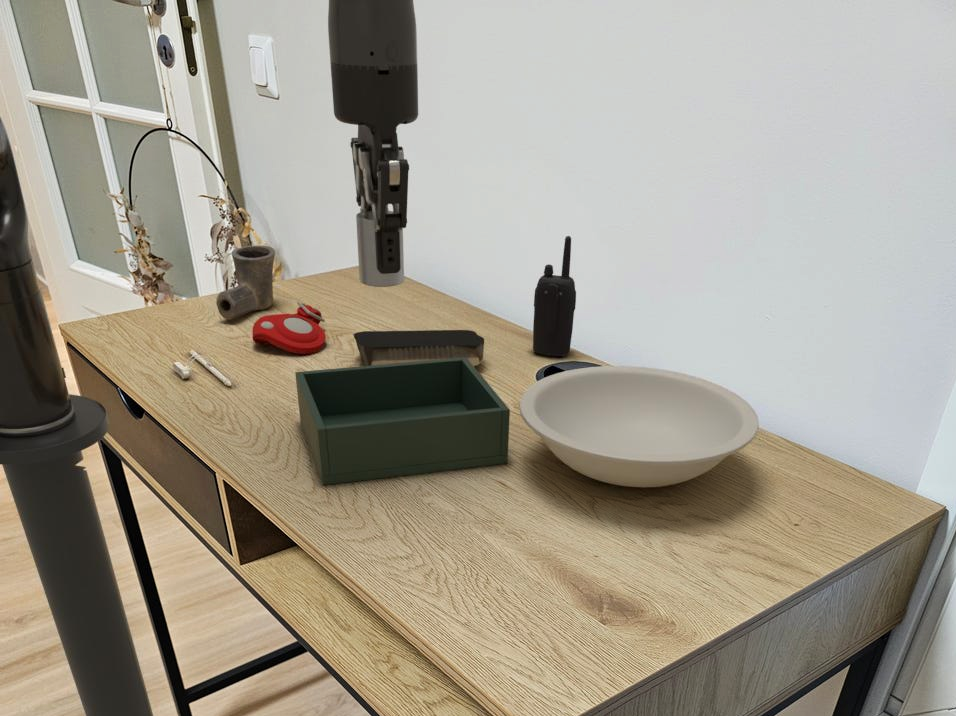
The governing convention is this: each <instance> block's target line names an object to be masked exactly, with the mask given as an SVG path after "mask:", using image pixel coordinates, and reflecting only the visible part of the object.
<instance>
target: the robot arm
mask: <svg viewBox="0 0 956 716" xmlns="http://www.w3.org/2000/svg"><path fill="white" fill-rule="evenodd" d="M327 11H328V14H327V32H328V33H327V34H328V35H327V36H328V47H329V63H330V64H329V65H330V75H331V76H330V77H331V89H332V90H331V91H332V102H333V103H332V104H333V106H332V107H333V115H334V117H335V119H336V120H337V121H339V122H340V123H343V124H348V125H355V126H357V137H351V139H350V143H349V145H350V148H351V154H352V156H351V157H352V163H353V173H354V183H355V191H356V192H355V193H356V196H355V200H356V203H357V206H358V207H360V209H359V211H360V212H364V211H371V210H372V211H373V220H374V222H373V227H374V228H375V245H376V265H377V270H378V271H379V272H380V273H381V274H389V273H398V272H399V271H400V269H401V263H400V233H399V231H401V230H402V228H403V229H405V228H407V223H408V197H409V196H408V195H409V194H408V192H409V191H408V190H409V171H410V164H409V162H408V161H409V160H408V159H405V154H404V148H403V146H402V145H401V146H399V140H398V133H397V128H398V126H400V125H408V124H412V123H413V122H415V121H416V120H417V119H418V117H419V81H418V80H419V79H418V77H419V76H418V72H419V71H418V35H417V34H418V32H417V31H418V30H417V19H416V13H415V4H414V0H328V10H327ZM13 152H14V151H13V148H12V145H11V142H10V138H9V135H8V132H7V129H6V126H5V124H4V121H3V119H2V117H1V116H0V436H1V437H8V438H24V437H33V436H39V435H44V434H48V433H51V432H54V431H57V430H59V429H62V428H64V427H66V426H67V425H69V424H70V423H71V422H72V421H73V420H74V418H75V412H74V408H73V405H72V403H71V399H70V396H69V394H70V393H69V390H68V386H67V382H66V378H67V376H66V372H65V369H64V367H62V364H61V360H60V356H59V352H58V349H57V346H56V342H55V337H54V334H53V330H52V327H51V323H50V319H49V315H48V312H47V307H46V304H45V300H44V297H43V292H42V289H41V286H40V282H39V278H38V274H37V270H36V267H35V264H34V260H33V256H32V252H31V249H30V243H29V220H28V213H27V208H26V204H25V199H24V196H23V195H24V194H23V192H22V187H21V182H20V177H19V173H18V169H17V164H16V160H15V156H14V153H13ZM389 205H391V206H392V211H393V214H386V211H389ZM360 212H359V213H360Z"/></svg>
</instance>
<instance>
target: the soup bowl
mask: <svg viewBox="0 0 956 716" xmlns="http://www.w3.org/2000/svg"><path fill="white" fill-rule="evenodd" d="M518 408H519V414H520V416H521V418H522V420H523V421H524V423H525V425H527V426H528V428H529V429H530V430H532V431H533V432H534V433H535V434H537V435H538V436H540V438H541V440H542V441H543V442H544V443H545V445H546V446H547V448H548V449H549V450H550V451H551V452H552V453H553V454H554V456H555V457H557V459H559V460H560V461H561V462H562V463H564V464H565V465H567V466H568V467H570V468H571V469H572V470H574V471H576V472H577V473H579V474H582V475H584V476H586V477H588V478H591V479H592V480H596V481H599V482H602V483H606V484H610V485H615V486H622V487H631V488H658V487H659V488H660V487H667V486H672V485H676V484H680V483H683V482H687V481H690V480H692V479H695V478H697V477H699V476H701V475H703V474H705V473H707V472H709V471H710V470H712V469H713V468H714V467H716V466H717V465H718V464H720V462H722V461H723V460H725V458H727V457H728V456H731V455H734V454H736V453H737V452H740V451H741V450H743V449H745V448H746V447H748V445H749V444H751V443H752V442H753V440H754V439H755V438H756V436H757V434H758V432H759V427H760V425H759V424H760V423H759V422H760V421H759V417H758V415H757V412H756V410H755V409H754V408H753V406H752V405H750V403H748V401H747V400H746V399H744V398H743V397H741V396H740V395H738V394H737V393H735V392H733V391H732V390H730V389H729V388H726V387H724V386H722V385H720V384H717V383H714V382H712V381H709V380H706V379H704V378H701V377H697V376H693V375H691V374H686V373H682V372H677V371H672V370H667V369H661V368H655V367H645V366H632V365H604V366H603V365H601V366H600V365H599V366H589V367H582V368H581V367H579V368H575V369H569V370H564V371H561V372H557V373H554V374H551V375H548V376H546V377H545V376H544V377H543V378H541V379H539V380H537V381H535V382H534V383H532V384H531V385H530V386H529V387H527V388H526V390H525V391H523V393H522V395H521V396H520V400H519V405H518Z"/></svg>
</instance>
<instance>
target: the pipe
mask: <svg viewBox="0 0 956 716" xmlns="http://www.w3.org/2000/svg"><path fill="white" fill-rule="evenodd" d="M230 254H231V256H232V260H233V265H234V270H235V275H236V282H237V286H236V287H233V288H230V289H226V290H223V291H220V292H219V293H218V294H217V296H216V302H215V303H216V307H217V309H218V313H219V315H221V317H222V318H223V319H227V320H233V319H236V318H239V317H242V316H243V315H246V314H248V313H251V312H254V311H261V310H266V309H268V308H270V307H271V306H272V305H273V302H274V287H273V283H274V282H273V275H274V274H273V273H274V262H275V256H276V250H275V248H273V247H271V246H270V245H269V246H268V245H260V244H259V245H245V246H241V247H238V248H234V249H233V250H232V251H231V253H230Z"/></svg>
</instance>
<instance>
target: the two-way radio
mask: <svg viewBox="0 0 956 716" xmlns="http://www.w3.org/2000/svg"><path fill="white" fill-rule="evenodd" d="M571 253H572V237H571V236H570V235H566V236H565V238H564V245H563V253H562V254H563V255H562V263H561V275H555V274H554V266H553V265H552V264H546V265H545V266H544V269H543V275H541V277H539V279H538V281H537V283H536V287H535V288H534V296H533V298H534V299H533V309H534V310H533V329H532V351H533V352H535V353H536V354H537V355H545V356H554V357H561V358H562V357H564V356H568V355H569V354H570V351H571V344H572V343H571V342H572V335H573V329H574V328H573V327H574V318H575V317H574V316H575V310H576V305H577V291H576V285H575V284H576V283H575V280H574V278H573V277H572V276H570V270H571V258H572V257H571V255H572V254H571Z"/></svg>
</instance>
